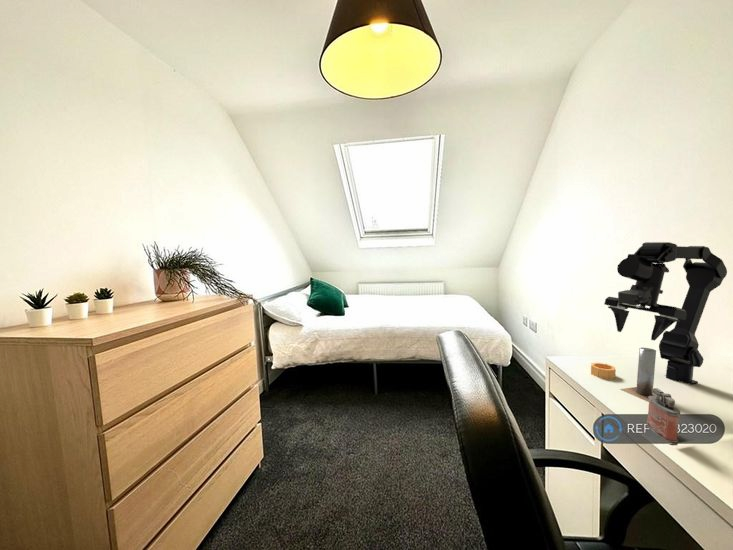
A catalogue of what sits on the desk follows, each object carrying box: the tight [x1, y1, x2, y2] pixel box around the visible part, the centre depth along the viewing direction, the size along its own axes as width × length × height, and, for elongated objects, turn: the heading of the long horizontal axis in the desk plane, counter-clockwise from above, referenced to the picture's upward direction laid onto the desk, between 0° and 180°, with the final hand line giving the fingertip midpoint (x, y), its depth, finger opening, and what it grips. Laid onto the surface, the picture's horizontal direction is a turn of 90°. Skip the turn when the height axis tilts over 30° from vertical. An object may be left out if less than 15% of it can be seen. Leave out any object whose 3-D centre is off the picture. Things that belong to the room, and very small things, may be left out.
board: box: [619, 386, 656, 403], centre depth 95 cm, size 8×8×1 cm
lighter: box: [646, 387, 682, 446], centre depth 76 cm, size 8×3×10 cm, turn 168°
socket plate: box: [590, 362, 617, 380], centre depth 109 cm, size 9×9×4 cm
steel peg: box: [636, 347, 657, 396], centre depth 95 cm, size 4×4×13 cm
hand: (635, 335), depth 98 cm, fingers open, 9 cm apart
